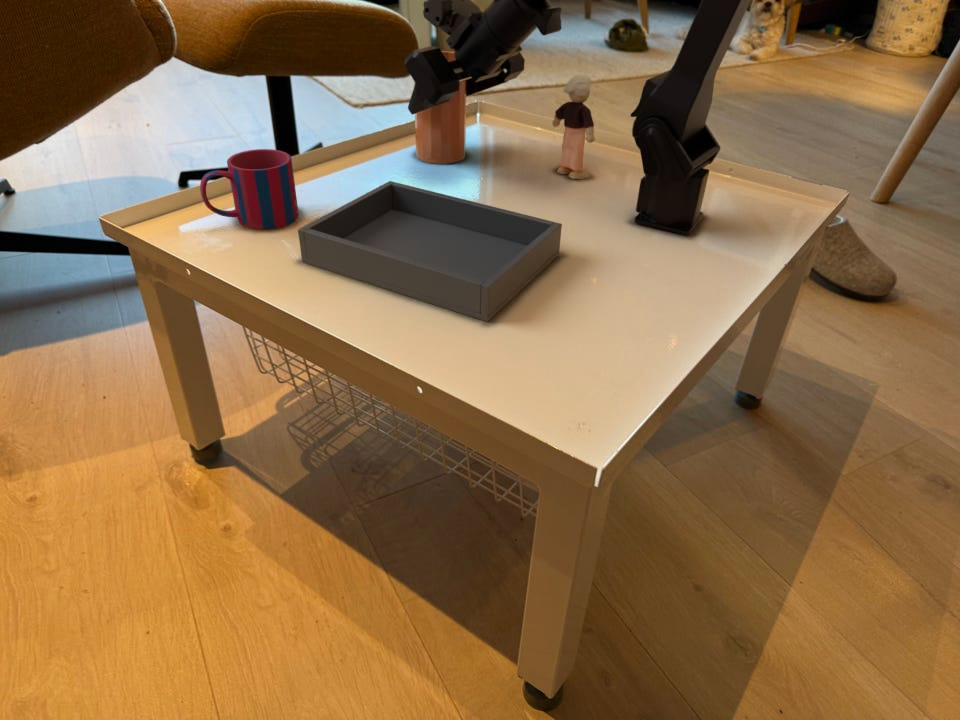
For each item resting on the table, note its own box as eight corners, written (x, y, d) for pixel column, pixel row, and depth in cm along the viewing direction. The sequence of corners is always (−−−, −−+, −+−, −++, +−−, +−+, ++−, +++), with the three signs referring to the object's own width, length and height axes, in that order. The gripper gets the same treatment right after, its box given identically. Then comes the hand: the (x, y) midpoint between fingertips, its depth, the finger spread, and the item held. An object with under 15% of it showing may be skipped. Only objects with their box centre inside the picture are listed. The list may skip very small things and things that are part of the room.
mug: (305, 224, 78) (298, 165, 74) (213, 240, 74) (200, 178, 70) (290, 202, 83) (282, 145, 79) (202, 216, 79) (189, 157, 75)
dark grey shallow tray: (559, 255, 74) (562, 223, 71) (487, 322, 62) (489, 287, 60) (391, 209, 82) (389, 180, 80) (301, 261, 71) (297, 229, 69)
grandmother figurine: (601, 176, 93) (615, 76, 85) (584, 184, 90) (596, 81, 83) (556, 161, 97) (565, 65, 90) (538, 168, 95) (546, 69, 87)
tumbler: (473, 153, 99) (475, 55, 91) (448, 167, 94) (448, 65, 86) (433, 144, 101) (432, 48, 94) (406, 157, 97) (403, 57, 89)
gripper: (511, -39, 88) (443, 42, 100) (414, -27, 76) (350, 64, 88) (558, 37, 89) (485, 108, 101) (470, 62, 77) (399, 140, 88)
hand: (432, 103), depth 94 cm, fingers open, 9 cm apart
